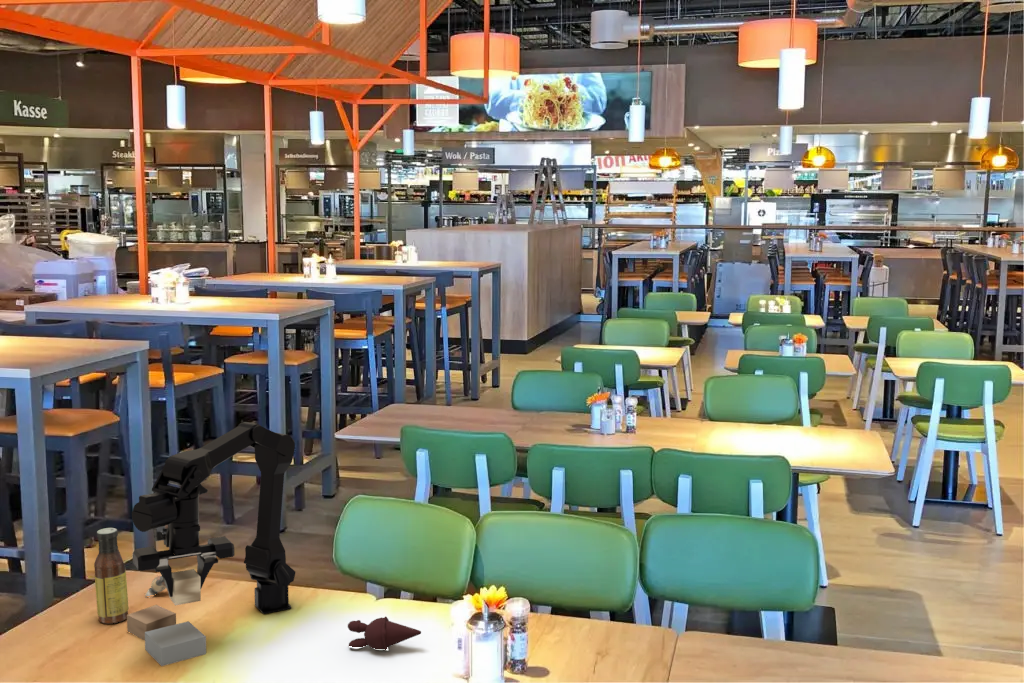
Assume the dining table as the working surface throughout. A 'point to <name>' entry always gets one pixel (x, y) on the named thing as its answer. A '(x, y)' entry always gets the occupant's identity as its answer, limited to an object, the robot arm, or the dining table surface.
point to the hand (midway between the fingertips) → (184, 594)
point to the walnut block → (149, 620)
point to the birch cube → (186, 587)
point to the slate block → (175, 643)
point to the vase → (156, 586)
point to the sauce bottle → (110, 579)
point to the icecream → (380, 633)
